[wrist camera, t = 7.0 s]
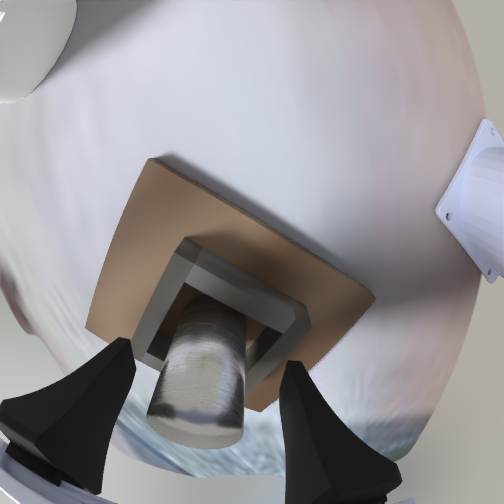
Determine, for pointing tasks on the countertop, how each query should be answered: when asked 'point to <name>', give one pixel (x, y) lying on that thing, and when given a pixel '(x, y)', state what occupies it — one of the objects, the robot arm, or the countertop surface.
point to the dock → (218, 281)
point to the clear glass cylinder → (203, 378)
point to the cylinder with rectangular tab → (31, 42)
